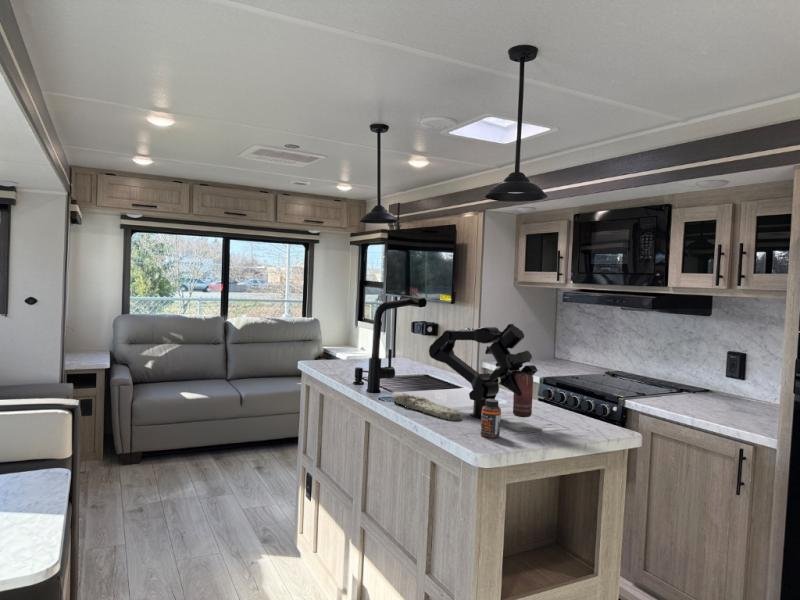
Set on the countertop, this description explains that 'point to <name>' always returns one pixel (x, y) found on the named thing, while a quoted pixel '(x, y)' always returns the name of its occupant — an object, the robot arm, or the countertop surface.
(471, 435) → the countertop surface
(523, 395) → the can
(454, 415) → the elongated rock
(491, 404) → the supplement bottle
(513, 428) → the mat
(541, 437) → the countertop surface
